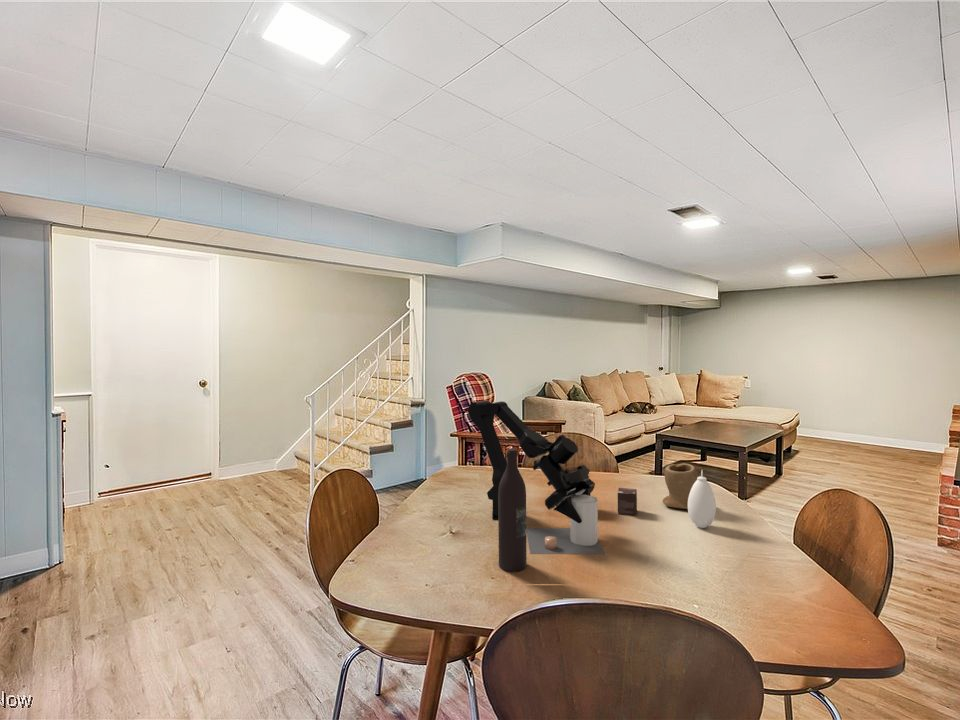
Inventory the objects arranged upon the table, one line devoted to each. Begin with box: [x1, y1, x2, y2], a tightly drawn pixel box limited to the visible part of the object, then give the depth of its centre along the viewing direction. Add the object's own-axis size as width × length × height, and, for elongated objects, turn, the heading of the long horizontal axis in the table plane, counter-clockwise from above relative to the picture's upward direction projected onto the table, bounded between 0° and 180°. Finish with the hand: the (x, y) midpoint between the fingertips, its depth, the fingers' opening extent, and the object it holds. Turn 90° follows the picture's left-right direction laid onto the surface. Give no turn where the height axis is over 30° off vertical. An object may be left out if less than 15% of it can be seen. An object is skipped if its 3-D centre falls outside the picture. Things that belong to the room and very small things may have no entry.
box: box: [617, 487, 638, 516], centre depth 161 cm, size 6×6×7 cm
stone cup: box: [662, 462, 699, 510], centre depth 164 cm, size 15×12×15 cm
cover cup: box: [569, 494, 599, 546], centre depth 137 cm, size 7×7×12 cm
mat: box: [526, 527, 606, 555], centre depth 138 cm, size 20×18×1 cm
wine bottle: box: [497, 448, 527, 573], centre depth 122 cm, size 7×7×30 cm
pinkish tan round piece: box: [545, 536, 557, 550], centre depth 133 cm, size 3×3×2 cm
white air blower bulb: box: [687, 469, 717, 529], centre depth 147 cm, size 8×8×18 cm
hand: (588, 518), depth 136 cm, fingers closed on cover cup, 8 cm apart
